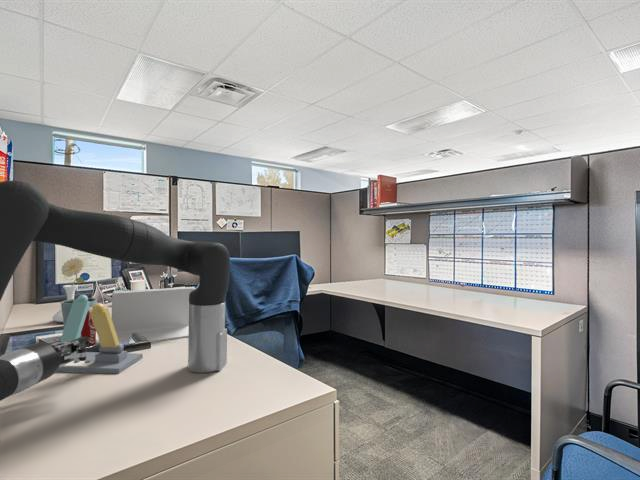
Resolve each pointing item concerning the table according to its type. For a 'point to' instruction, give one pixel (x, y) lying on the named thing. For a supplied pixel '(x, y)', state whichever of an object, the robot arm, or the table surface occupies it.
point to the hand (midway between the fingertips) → (85, 340)
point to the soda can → (89, 329)
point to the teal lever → (75, 319)
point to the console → (101, 362)
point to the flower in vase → (70, 269)
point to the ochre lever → (105, 329)
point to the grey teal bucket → (67, 306)
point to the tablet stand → (151, 313)
